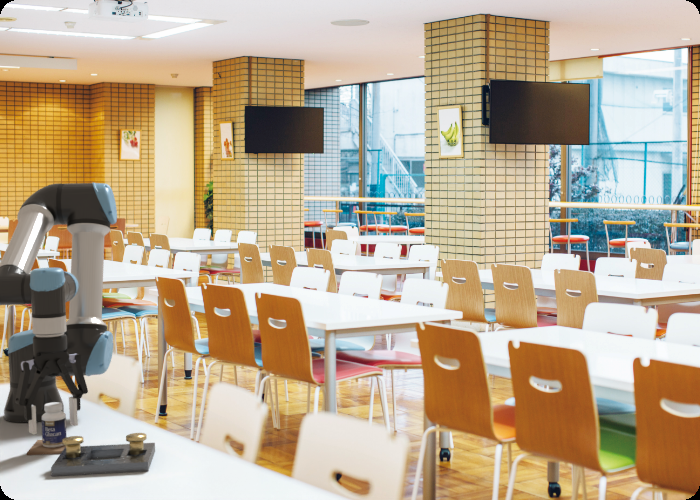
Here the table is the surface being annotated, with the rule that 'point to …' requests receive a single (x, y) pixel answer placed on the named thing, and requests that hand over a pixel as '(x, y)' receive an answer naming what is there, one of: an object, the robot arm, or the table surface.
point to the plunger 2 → (136, 442)
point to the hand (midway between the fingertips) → (53, 428)
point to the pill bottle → (53, 425)
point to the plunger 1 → (73, 446)
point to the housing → (104, 460)
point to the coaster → (44, 449)
